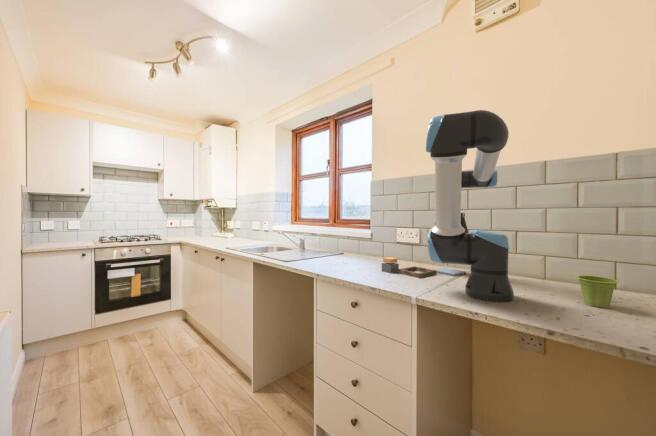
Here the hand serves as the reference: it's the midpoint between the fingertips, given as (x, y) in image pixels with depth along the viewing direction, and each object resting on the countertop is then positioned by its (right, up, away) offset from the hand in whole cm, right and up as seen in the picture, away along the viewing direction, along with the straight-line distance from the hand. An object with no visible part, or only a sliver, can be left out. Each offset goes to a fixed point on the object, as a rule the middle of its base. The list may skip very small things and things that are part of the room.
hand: (449, 246), depth 136 cm
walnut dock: (-17, -13, -2) cm, 21 cm away
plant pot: (+27, -14, -47) cm, 56 cm away
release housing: (-29, -13, +3) cm, 32 cm away
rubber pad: (0, -13, 0) cm, 13 cm away
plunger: (-29, -12, +3) cm, 32 cm away
